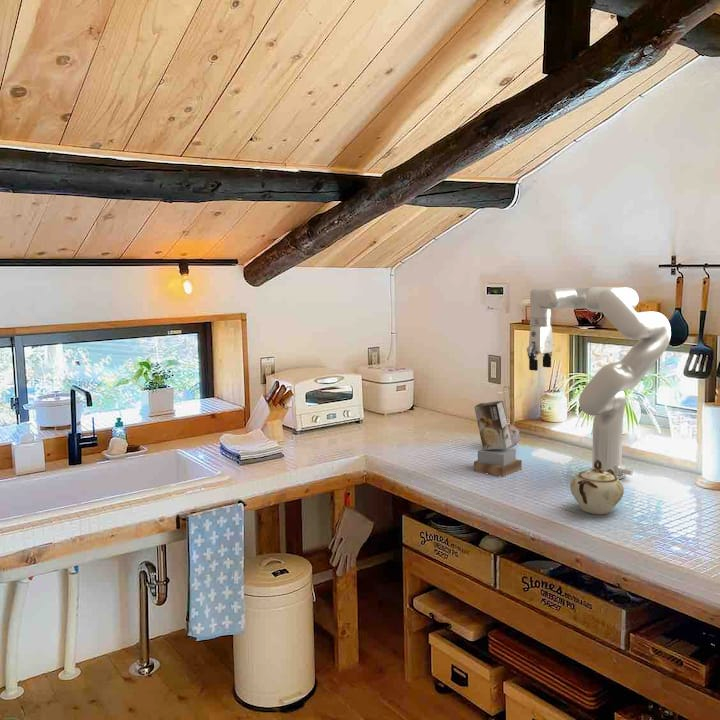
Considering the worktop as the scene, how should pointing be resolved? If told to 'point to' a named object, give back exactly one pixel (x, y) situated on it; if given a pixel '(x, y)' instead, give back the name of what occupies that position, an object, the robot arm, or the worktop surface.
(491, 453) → the tower top block
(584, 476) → the sugar bowl
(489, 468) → the tower base block
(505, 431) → the coffee box
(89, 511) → the worktop surface
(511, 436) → the food item
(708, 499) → the worktop surface
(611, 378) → the robot arm
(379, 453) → the worktop surface
